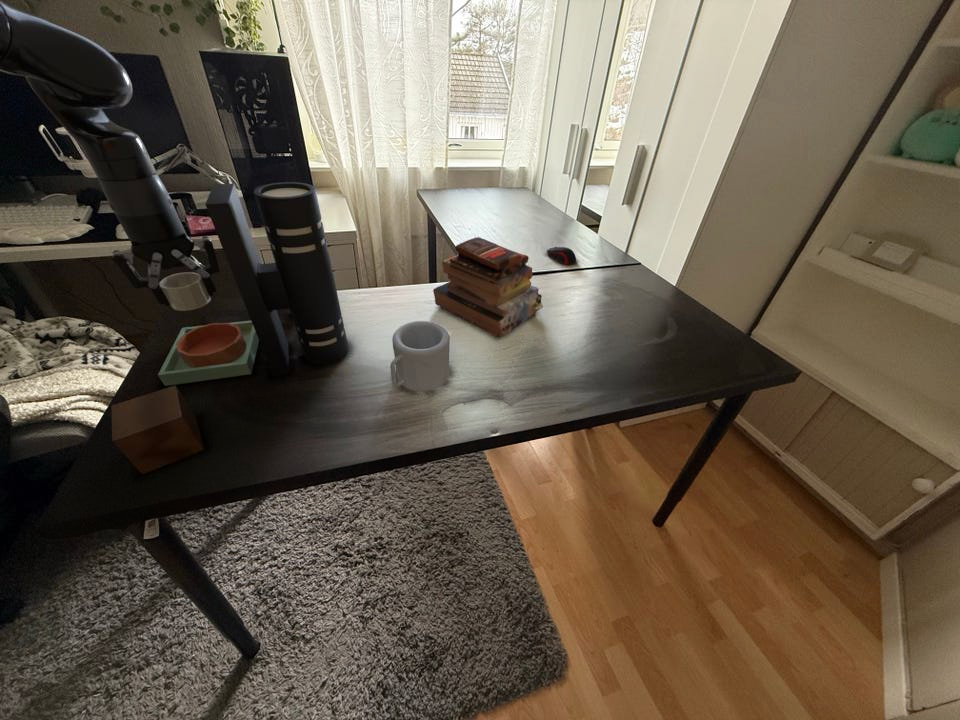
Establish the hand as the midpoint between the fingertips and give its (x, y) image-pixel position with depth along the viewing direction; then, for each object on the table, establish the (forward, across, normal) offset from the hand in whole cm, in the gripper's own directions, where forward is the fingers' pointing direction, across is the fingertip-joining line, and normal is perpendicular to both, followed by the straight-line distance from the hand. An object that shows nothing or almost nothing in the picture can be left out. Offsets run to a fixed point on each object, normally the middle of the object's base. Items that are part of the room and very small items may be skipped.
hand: (189, 298), depth 69 cm
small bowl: (+1, 0, 0) cm, 1 cm away
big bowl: (+13, 0, 0) cm, 13 cm away
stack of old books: (+14, -59, +16) cm, 63 cm away
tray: (+13, 0, 0) cm, 13 cm away
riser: (+13, +10, +21) cm, 27 cm away
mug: (+14, -31, +29) cm, 45 cm away
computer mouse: (+14, -101, +3) cm, 102 cm away
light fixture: (+14, -16, +10) cm, 23 cm away
